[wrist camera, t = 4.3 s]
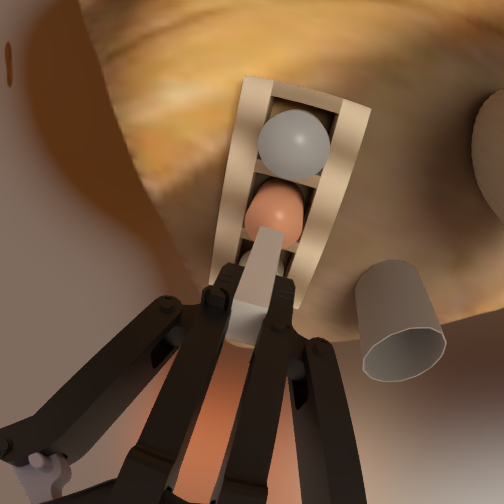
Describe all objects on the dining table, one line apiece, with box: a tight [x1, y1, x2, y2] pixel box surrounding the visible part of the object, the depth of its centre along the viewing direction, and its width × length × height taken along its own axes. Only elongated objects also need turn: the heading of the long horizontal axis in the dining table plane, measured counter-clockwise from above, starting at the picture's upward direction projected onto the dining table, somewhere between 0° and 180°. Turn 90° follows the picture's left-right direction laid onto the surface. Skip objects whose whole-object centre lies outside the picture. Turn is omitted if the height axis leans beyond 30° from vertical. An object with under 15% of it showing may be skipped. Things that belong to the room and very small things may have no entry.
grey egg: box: [258, 109, 330, 180], centre depth 18 cm, size 4×4×5 cm
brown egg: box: [245, 178, 304, 249], centre depth 23 cm, size 4×4×5 cm
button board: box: [209, 75, 371, 309], centre depth 25 cm, size 21×10×3 cm, turn 168°
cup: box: [355, 260, 446, 382], centre depth 25 cm, size 8×8×10 cm
